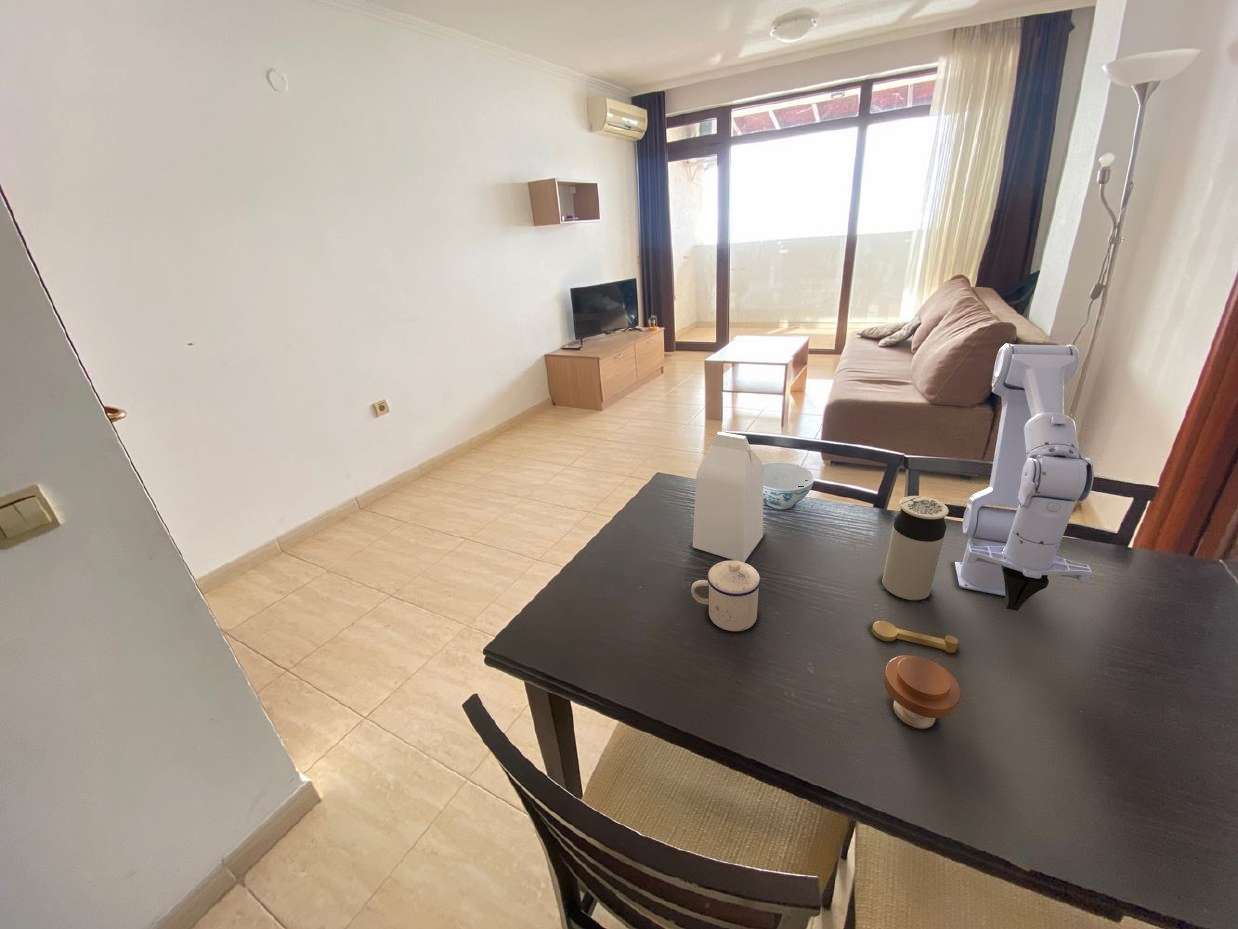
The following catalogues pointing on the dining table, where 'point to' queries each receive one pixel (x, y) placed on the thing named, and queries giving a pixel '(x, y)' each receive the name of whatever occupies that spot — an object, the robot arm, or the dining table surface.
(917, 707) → the mushroom
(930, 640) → the spoon
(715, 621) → the teacup with lid
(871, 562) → the dining table surface
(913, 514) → the travel mug
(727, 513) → the milk
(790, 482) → the chinaware
